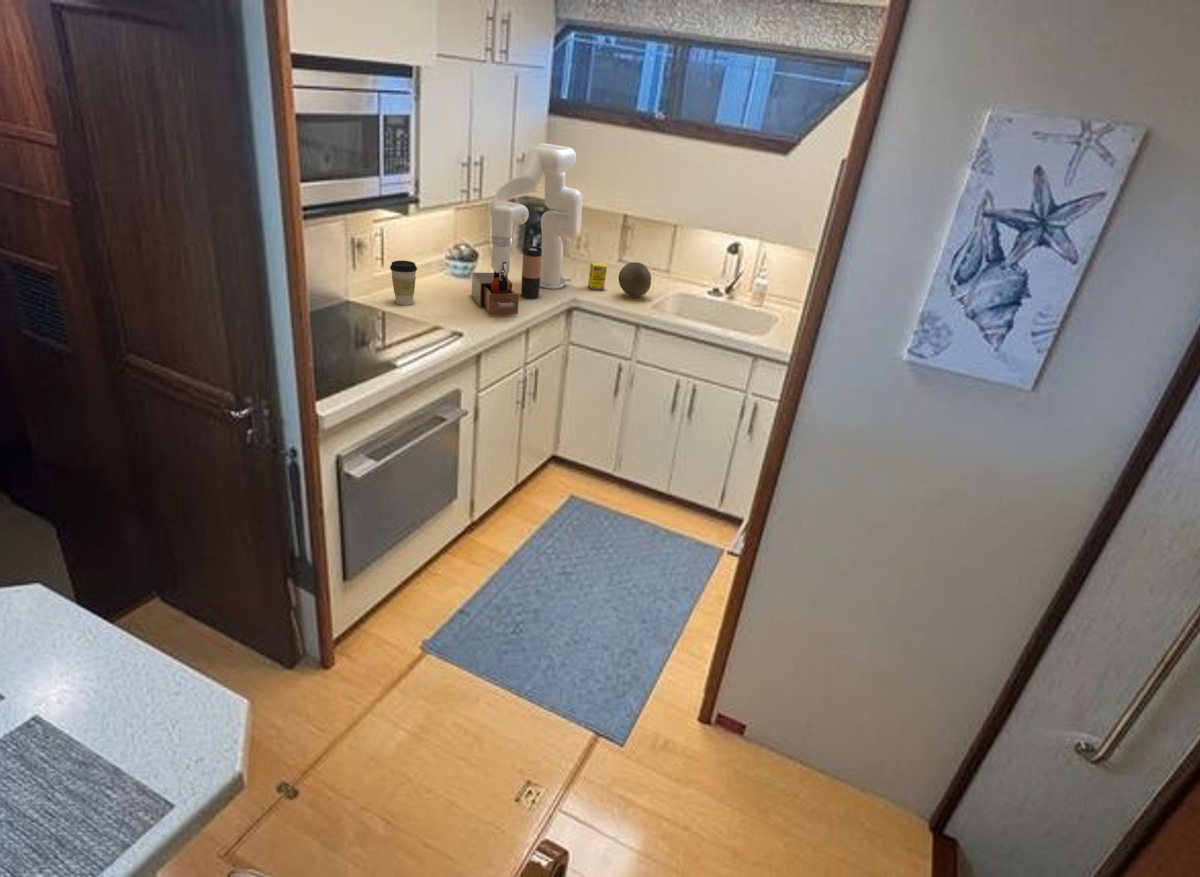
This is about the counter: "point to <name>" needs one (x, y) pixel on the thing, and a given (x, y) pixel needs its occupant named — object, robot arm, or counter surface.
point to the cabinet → (478, 283)
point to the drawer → (500, 301)
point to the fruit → (496, 286)
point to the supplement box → (597, 276)
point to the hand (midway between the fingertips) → (500, 287)
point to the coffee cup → (403, 281)
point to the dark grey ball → (635, 279)
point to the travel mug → (531, 272)
